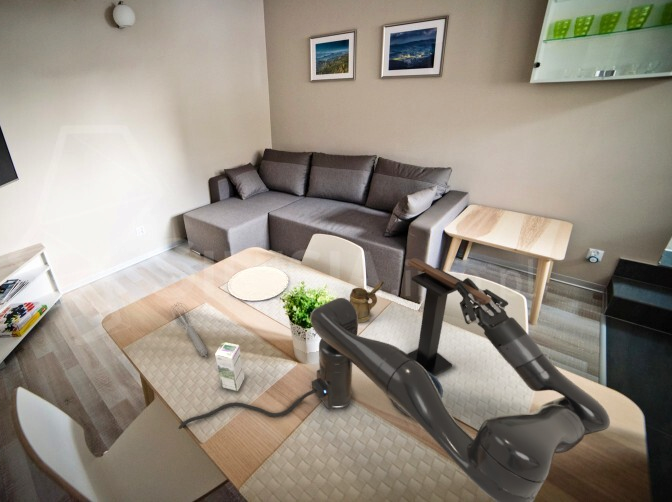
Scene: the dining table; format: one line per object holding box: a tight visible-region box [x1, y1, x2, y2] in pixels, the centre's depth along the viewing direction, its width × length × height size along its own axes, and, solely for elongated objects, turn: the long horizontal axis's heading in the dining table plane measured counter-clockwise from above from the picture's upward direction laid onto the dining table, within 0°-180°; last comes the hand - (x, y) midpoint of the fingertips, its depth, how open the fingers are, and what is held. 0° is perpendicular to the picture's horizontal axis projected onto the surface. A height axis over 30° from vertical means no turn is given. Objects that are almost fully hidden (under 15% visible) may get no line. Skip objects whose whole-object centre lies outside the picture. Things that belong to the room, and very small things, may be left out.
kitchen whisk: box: [170, 301, 208, 359], centre depth 126 cm, size 6×34×6 cm, turn 32°
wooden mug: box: [349, 281, 385, 323], centre depth 124 cm, size 9×14×18 cm, turn 58°
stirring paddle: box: [407, 257, 491, 305], centre depth 90 cm, size 4×24×1 cm, turn 25°
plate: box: [227, 265, 289, 302], centre depth 155 cm, size 29×29×1 cm
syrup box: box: [214, 341, 245, 392], centre depth 101 cm, size 6×6×14 cm
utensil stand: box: [406, 267, 463, 377], centre depth 99 cm, size 12×10×32 cm
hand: (461, 281), depth 85 cm, fingers closed on stirring paddle
